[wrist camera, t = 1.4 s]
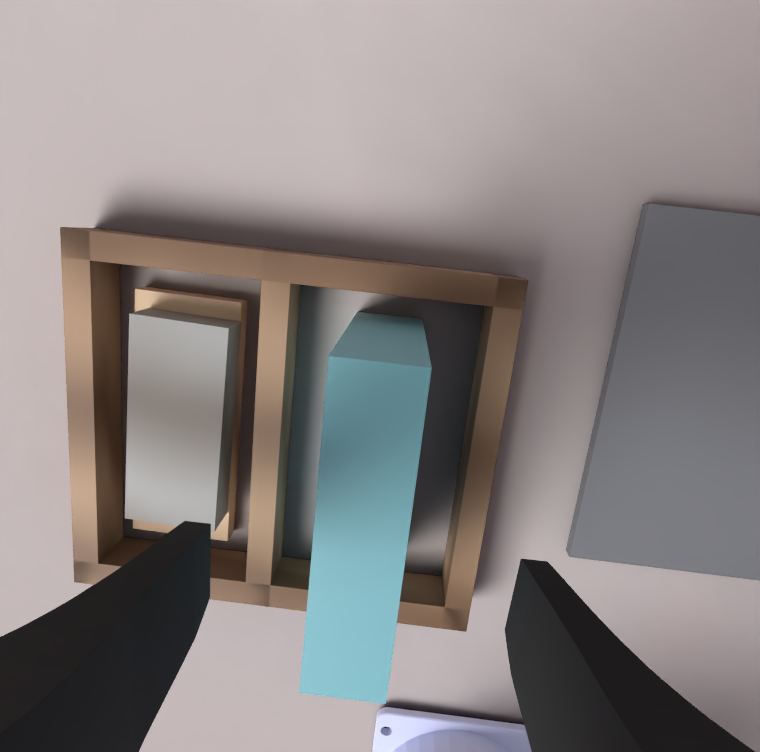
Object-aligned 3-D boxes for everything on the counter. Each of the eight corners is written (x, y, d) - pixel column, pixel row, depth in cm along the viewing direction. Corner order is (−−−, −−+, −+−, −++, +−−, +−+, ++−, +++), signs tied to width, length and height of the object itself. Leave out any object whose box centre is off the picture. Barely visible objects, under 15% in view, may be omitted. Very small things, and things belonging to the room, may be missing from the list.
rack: (461, 599, 24) (465, 631, 22) (101, 554, 24) (74, 581, 22) (516, 276, 20) (528, 280, 18) (93, 228, 20) (60, 227, 18)
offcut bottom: (238, 522, 24) (227, 541, 22) (149, 510, 24) (132, 528, 23) (252, 298, 21) (241, 302, 20) (153, 285, 21) (135, 288, 20)
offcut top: (227, 512, 22) (214, 532, 21) (143, 499, 22) (124, 518, 21) (241, 321, 20) (228, 328, 19) (149, 307, 20) (129, 313, 19)
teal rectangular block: (392, 548, 23) (385, 703, 16) (335, 541, 23) (299, 692, 16) (422, 318, 21) (431, 368, 13) (357, 311, 21) (328, 356, 13)
